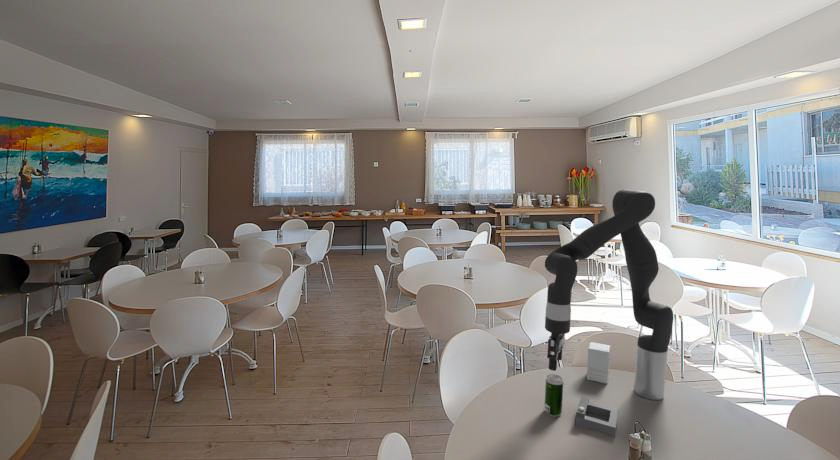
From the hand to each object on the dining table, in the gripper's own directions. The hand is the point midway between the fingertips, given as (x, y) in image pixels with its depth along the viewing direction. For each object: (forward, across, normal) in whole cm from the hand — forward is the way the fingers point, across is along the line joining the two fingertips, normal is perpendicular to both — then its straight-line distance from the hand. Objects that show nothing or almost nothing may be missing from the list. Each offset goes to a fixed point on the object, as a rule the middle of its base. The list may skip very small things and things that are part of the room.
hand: (555, 364), depth 125 cm
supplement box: (+17, +33, -10) cm, 38 cm away
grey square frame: (+16, +2, -13) cm, 21 cm away
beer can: (+17, 0, 0) cm, 17 cm away
